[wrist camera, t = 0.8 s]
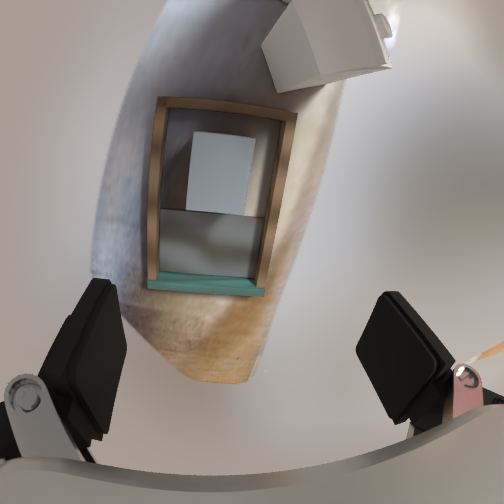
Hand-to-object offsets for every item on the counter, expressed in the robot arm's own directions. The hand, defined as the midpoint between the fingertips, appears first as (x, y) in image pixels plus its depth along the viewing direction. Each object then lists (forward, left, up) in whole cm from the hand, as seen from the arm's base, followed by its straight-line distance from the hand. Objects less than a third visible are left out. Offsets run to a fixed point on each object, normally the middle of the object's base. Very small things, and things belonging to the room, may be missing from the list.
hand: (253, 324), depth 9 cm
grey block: (-1, -1, -28) cm, 28 cm away
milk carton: (-16, +7, -28) cm, 33 cm away
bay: (+3, -1, -28) cm, 28 cm away
